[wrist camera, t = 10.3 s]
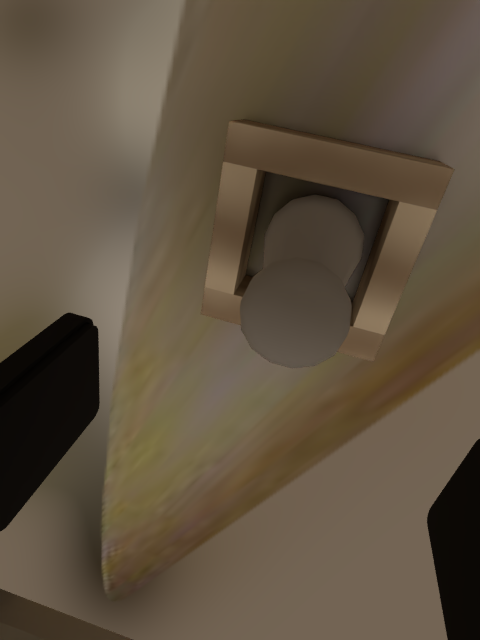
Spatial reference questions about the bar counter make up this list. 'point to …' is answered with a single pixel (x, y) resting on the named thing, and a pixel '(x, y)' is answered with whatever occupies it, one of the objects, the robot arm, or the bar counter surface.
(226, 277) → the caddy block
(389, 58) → the bar counter surface
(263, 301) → the salt shaker
